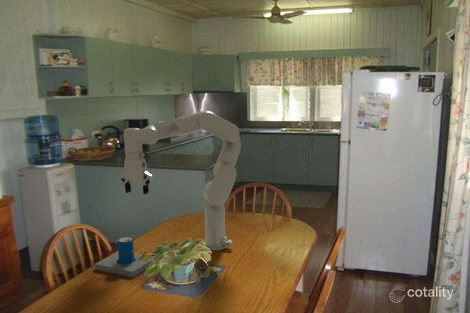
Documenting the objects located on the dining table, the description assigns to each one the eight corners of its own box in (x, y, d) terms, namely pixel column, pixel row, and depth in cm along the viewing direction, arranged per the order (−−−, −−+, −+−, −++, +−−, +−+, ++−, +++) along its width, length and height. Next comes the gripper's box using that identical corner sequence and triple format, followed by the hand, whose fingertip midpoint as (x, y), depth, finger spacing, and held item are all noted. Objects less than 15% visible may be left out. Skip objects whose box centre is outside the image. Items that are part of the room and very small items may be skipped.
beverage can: (130, 269, 177) (129, 242, 175) (116, 268, 179) (114, 241, 177) (137, 263, 184) (135, 237, 182) (123, 262, 185) (121, 236, 183)
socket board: (156, 263, 184) (156, 257, 183) (132, 277, 170) (132, 271, 169) (120, 256, 192) (120, 250, 192) (95, 269, 178) (94, 263, 178)
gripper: (155, 154, 189) (157, 192, 192) (123, 154, 196) (126, 190, 198) (145, 157, 182) (148, 196, 185) (113, 156, 189) (116, 193, 192)
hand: (137, 192), depth 192 cm, fingers open, 9 cm apart
